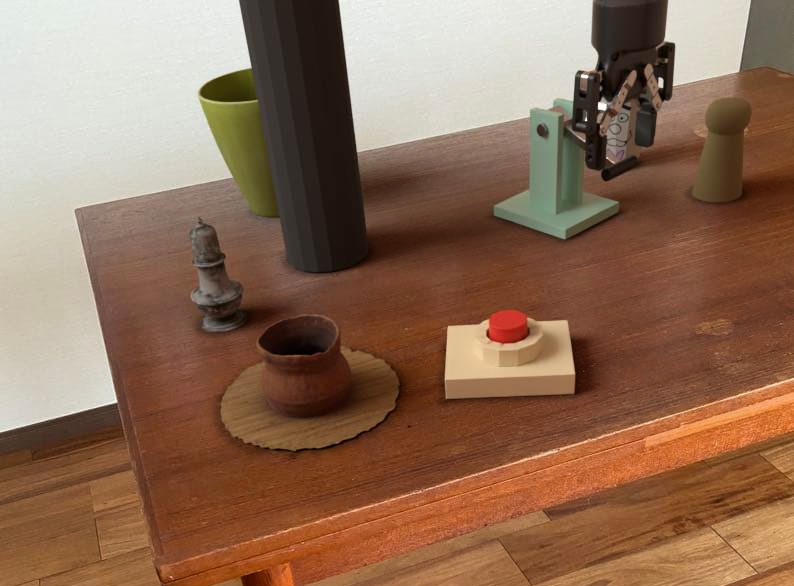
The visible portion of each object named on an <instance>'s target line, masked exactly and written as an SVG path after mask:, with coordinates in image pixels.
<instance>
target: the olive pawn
mask: <svg viewBox="0 0 794 586" xmlns="http://www.w3.org/2000/svg"><path fill="white" fill-rule="evenodd" d="M752 114H753V111H752V106H751V104H750V102H749V101H748V100H746V99H744V98H742V97H734V96H731V97H729V96H727V97H722V98H718V99H715V100H713V101H712V102H711V103H710V104H709V106H708V107H707V109H706V112H705V117H704V121H705V122H704V123H705V126H706V128H707V134H706V138H705V141H704V145H703V148H702V153H701V156H700V160H699V164H698V167H697V171H696V175H695V178H694V182H693V186H692V189H691V195H692V197H694V198H695V199H697V200H700V201H702V202H707V203H727V202H732V201H735V200H737V199H739V198H740V197H742V195H743V176H744V175H743V173H744V147H745V145H744V143H745V130H746V128H748V126H749V124H750V122H751V120H752Z"/></svg>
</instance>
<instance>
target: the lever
mask: <svg viewBox="0 0 794 586" xmlns="http://www.w3.org/2000/svg"><path fill="white" fill-rule="evenodd" d="M547 110H549V111H553V112H558V113H562V114H564V130H563V138H565V137H567V138H568V139H569V140H571V141H572V142H574V143H575V144H576V145H578V146H579V147H580V148H582V149H583V150H584V151H585V143H586V136H585V134H584V133H579V132H575V131H573V130H572V114H571V113H569V112H568V111H566V110H565V109H564V108H562V107H561V106H560V105H557V106H555V107H553V106H552V107H549V108H548V109H547ZM638 166H639V160H638V158H637V157H636V156H634V155H631V156H629V157H627V158H625V159H623V160H619V159H618V158H617V157H615V156H614V155H612V154H611V153H610V152H608V151H607V150H606V166H605V168H604V169H602V170H601V172H600V177H601V180H603V181H604V182H610V181H612V180H614V179H616V178H618V177H620V176H622V175H624V174H625V173H628V172H630V171H632V170H634V169H636V168H637V167H638Z"/></svg>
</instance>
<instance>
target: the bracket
mask: <svg viewBox="0 0 794 586" xmlns="http://www.w3.org/2000/svg"><path fill="white" fill-rule="evenodd" d="M557 105H560V106H561V107H562V108H564V109H565V110H566V111H568V112H569V113H571V114H572V113H573V100H570V99H565V98H561V97H557V98H555V99H553V100H552V108H553V107H555V106H557ZM586 117H587V111H586V110H583V120H584V121H585V119H586ZM563 130H564V114H562V113H558V112H553V111H549V110H548V109H545V108H540V107H533V108H531V109H530V110H529V183H528V185H529V186H528V189H526V190H523V191H522V192H520V193H518V194H515V195H514V196H511V197H509V198H507V199H505V200H503V201H501V202H499V203H496V204H495V205H493V216H494V217H497V218H501V219H502V220H503V219H504V220H506V221H509V222H512V223H515V224H518V225H520V226H524V227H527V228H530V229H532V230H535V231H538V232H541V233H544V234H547V235H551V236H554V237H556V238H559V239H562V240H565V241H566V240H568V239H569V238H571V237H573V236H575V235H577V234H579V233H581V232H583V231H585V230H587V229H589V228H590V227H592V226H594V225H596V224H599V223H600V222H602V221H604V220H606V219H608V218H609V217H612V216H614V215H615V214H617V213H619V211H620V202H619V201H617V200H614V199H611V198H608V197H604V196H600V195H597V194H594V193H590V192H586V191H584V173H585V171H584V170H585V151H584V150H583V149H582V148H580V147H579V146H578V145H576V144H575V143H574V142H572V141H571V140H569V139H568V138H567V137H565V138H563Z"/></svg>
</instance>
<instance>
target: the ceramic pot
mask: <svg viewBox="0 0 794 586" xmlns="http://www.w3.org/2000/svg"><path fill="white" fill-rule="evenodd" d="M341 341H342V340H341V329H340V326H339V325H338V324H337V323H336V321H335V320H333V319H331V318H330V317H327V316H326V315H322V314H317V313H315V314H308V313H301V314H298V315H297V316H292V317H287V318H285V319H281V320H279V321H276V322H273V323H272V324H270V325H269V326H267V327H265V329H264V331H262V332H261V334H260V335H259V336H258V337H257V339H256V343H255V346H256V347H255V348H256V350H257V353H258V354H259V356H260V357H261V358H262V360H263V361H261V362H257V363H255V365H253V366H249V367H247V368H246V369H245V370H244V371H242V372H241V373H240V374H239V376H238V377H237V378H236V379H235V380H234V381H233V382H232V384H231V385H229V386H228V387H227V389H226V391H225V393H224V395H223V396H222V400H221V402H220V406H221V408H220V412H219V414H220V415H221V418H220V419H221V422H222V423H223V425H224V429H225V430H226V431H228V432H229V433H230V435H231V437H232V438H237V439H238V440H239V439H240V440H242V441H243V442H244V444H249V443H250V444H252V445H253V446H259V447H260V448H262V449H265V448H268V449H270V450H275V449H281V450H289V451H292V452H296V451H297V450H302V449H322V448H325V447H328V446H332V445H336V444H340V442H342V441H345V440H349V439H352V438H355V437H357V435H358V434H360V433H362V432H367V431H370V429H371V428H375V427H376V425H377V424H378V423H380V422H381V423H382V422H383V421H384V420H385V417H386V416H387V415H388V414H389V412H391V411H393V410H395V408H396V406H397V403H396V399H398V396H399V393H400V388H399V387H400V386H401V384H400V381H399V377H398V375H397V372H396V371H395V370H393V369H392V368H391V365H390V364H389V363H386V362H385V360H384V359H381V358H379V357H376V356H373V354H371V353H366V352H364V351H360V350H359V349H357V350H356V351H352V349H351V348H350V347H347V346H343V345H342V342H341Z"/></svg>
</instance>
